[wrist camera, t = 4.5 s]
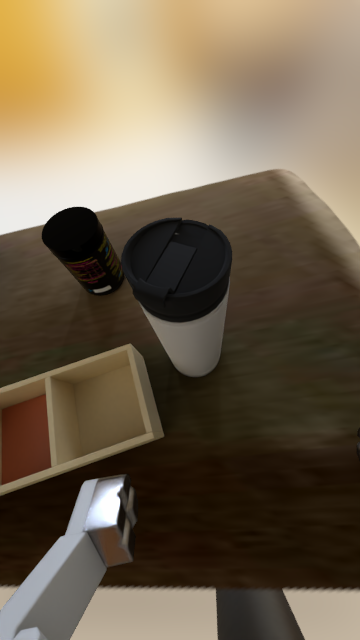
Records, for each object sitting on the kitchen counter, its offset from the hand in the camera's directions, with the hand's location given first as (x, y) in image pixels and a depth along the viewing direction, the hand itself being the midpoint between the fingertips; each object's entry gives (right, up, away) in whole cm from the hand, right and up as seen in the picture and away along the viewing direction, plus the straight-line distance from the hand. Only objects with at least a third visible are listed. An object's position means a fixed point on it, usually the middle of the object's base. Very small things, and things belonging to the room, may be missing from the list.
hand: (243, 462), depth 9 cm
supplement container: (-14, +11, +29) cm, 34 cm away
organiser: (-19, -9, +20) cm, 29 cm away
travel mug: (0, +1, +23) cm, 23 cm away
